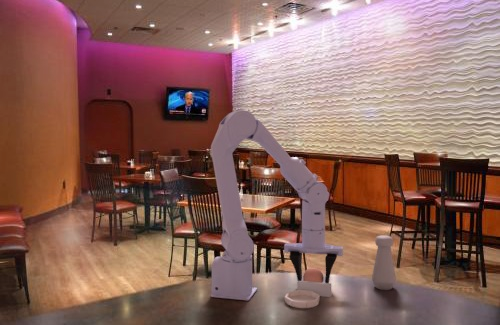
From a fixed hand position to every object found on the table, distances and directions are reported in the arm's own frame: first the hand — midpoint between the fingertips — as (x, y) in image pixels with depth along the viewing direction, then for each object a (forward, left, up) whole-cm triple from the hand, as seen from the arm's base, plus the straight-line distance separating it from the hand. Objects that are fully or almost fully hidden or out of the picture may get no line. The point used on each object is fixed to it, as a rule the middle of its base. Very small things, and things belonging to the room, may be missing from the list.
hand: (313, 281), depth 116 cm
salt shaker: (+17, +4, -2) cm, 18 cm away
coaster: (-1, -11, -1) cm, 11 cm away
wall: (+1, -5, -1) cm, 6 cm away
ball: (0, 0, -1) cm, 1 cm away
